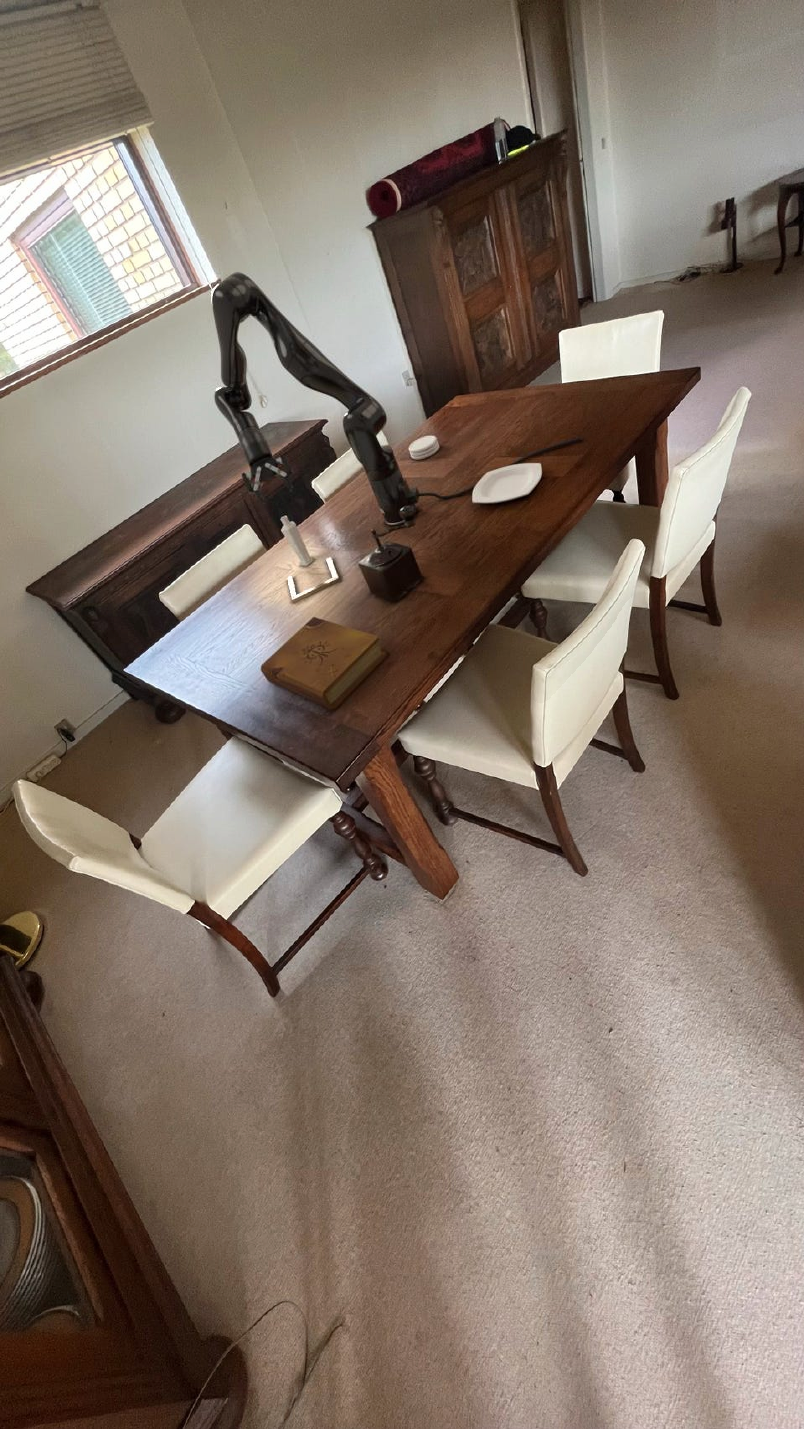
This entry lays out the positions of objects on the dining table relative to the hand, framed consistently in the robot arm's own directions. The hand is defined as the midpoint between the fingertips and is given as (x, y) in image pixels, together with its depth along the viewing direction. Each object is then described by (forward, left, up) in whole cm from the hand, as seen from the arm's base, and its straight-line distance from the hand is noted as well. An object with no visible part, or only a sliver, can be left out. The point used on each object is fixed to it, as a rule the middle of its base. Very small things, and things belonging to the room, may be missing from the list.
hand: (277, 496), depth 182 cm
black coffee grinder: (-38, +32, -17) cm, 53 cm away
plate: (-64, -2, -17) cm, 67 cm away
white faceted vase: (-4, +10, -17) cm, 21 cm away
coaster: (-35, -43, -17) cm, 58 cm away
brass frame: (-9, +21, -17) cm, 29 cm away
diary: (-23, +62, -17) cm, 69 cm away
